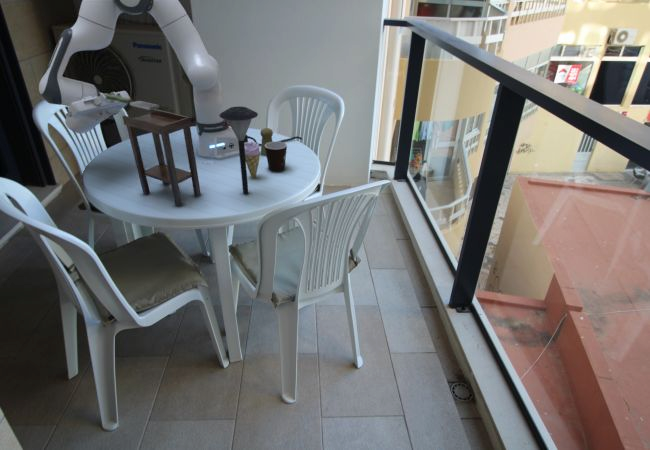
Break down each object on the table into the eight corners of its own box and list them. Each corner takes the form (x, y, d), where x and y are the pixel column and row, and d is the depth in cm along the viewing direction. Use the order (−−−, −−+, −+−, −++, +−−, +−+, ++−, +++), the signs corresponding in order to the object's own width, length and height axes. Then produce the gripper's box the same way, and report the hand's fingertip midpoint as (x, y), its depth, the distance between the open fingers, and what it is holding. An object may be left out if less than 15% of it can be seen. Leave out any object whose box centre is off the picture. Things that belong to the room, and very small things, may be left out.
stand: (141, 194, 137) (122, 116, 122) (166, 182, 145) (151, 107, 130) (178, 208, 130) (162, 126, 115) (202, 194, 138) (190, 117, 123)
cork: (272, 156, 169) (271, 132, 163) (258, 155, 170) (257, 130, 164) (276, 151, 174) (275, 127, 168) (263, 150, 175) (262, 126, 169)
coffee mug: (278, 175, 153) (277, 151, 148) (261, 169, 157) (260, 146, 152) (296, 165, 162) (295, 142, 156) (279, 160, 165) (278, 137, 160)
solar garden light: (247, 182, 147) (240, 101, 131) (270, 193, 140) (265, 109, 124) (221, 193, 139) (210, 109, 123) (243, 205, 132) (235, 117, 116)
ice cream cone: (246, 182, 147) (243, 144, 139) (241, 176, 152) (238, 138, 144) (263, 179, 150) (261, 141, 142) (258, 173, 154) (255, 136, 146)
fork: (99, 98, 130) (98, 94, 129) (109, 95, 132) (108, 92, 132) (149, 110, 120) (149, 106, 120) (159, 107, 123) (158, 104, 122)
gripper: (58, 108, 129) (74, 92, 121) (113, 95, 144) (131, 80, 136) (69, 126, 131) (85, 111, 122) (122, 112, 146) (140, 98, 137)
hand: (110, 95), depth 129 cm, fingers closed on fork
